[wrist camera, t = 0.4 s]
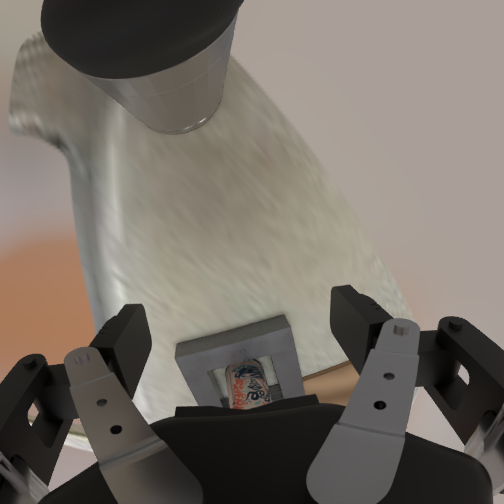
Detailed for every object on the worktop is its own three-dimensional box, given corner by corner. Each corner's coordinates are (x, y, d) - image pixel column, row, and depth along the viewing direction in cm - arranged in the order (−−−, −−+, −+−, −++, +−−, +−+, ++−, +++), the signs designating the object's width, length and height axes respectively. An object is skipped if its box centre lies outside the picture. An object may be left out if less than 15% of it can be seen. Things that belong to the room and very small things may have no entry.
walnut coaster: (298, 378, 36) (300, 382, 35) (365, 353, 37) (367, 356, 36) (308, 421, 39) (309, 425, 38) (366, 399, 39) (368, 402, 39)
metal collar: (176, 343, 32) (174, 358, 29) (284, 314, 33) (290, 326, 30) (211, 415, 36) (212, 430, 33) (301, 391, 37) (307, 404, 34)
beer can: (266, 358, 34) (290, 427, 23) (258, 386, 35) (277, 456, 24) (228, 354, 33) (239, 427, 22) (222, 383, 34) (230, 456, 23)
